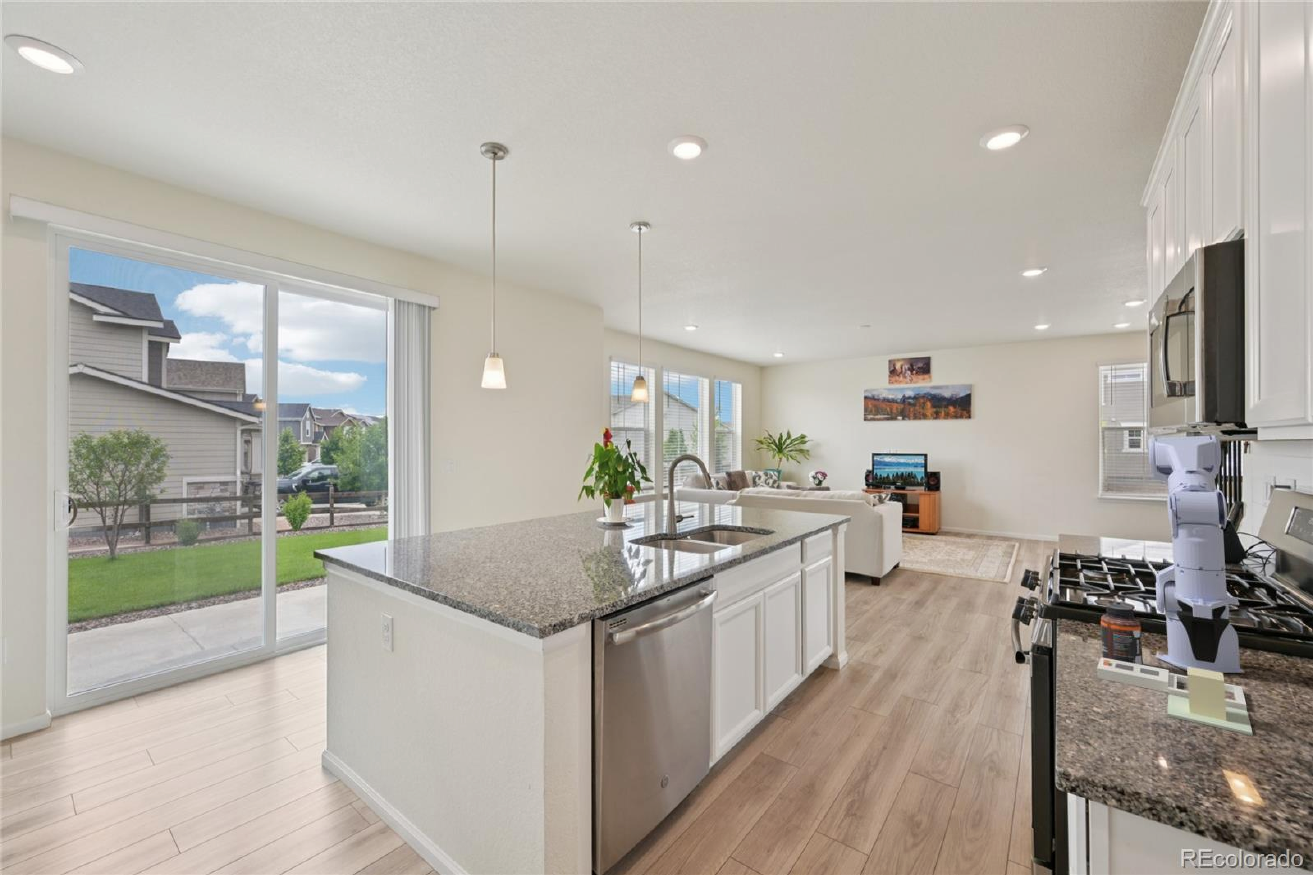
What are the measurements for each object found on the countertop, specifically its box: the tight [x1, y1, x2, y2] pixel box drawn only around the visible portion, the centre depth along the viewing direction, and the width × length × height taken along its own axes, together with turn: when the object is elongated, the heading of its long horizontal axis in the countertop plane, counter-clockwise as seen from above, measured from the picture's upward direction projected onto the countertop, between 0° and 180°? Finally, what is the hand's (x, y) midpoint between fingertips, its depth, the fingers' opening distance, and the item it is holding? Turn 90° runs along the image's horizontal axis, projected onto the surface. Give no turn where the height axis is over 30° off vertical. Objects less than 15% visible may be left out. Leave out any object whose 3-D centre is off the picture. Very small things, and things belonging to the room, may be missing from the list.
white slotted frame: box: [1096, 656, 1248, 712], centre depth 96 cm, size 18×9×2 cm, turn 46°
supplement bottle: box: [1100, 603, 1144, 665], centre depth 105 cm, size 6×6×11 cm
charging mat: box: [1166, 694, 1253, 737], centre depth 85 cm, size 9×9×1 cm
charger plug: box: [1186, 667, 1226, 721], centre depth 85 cm, size 4×4×6 cm
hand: (1204, 654), depth 85 cm, fingers open, 7 cm apart
